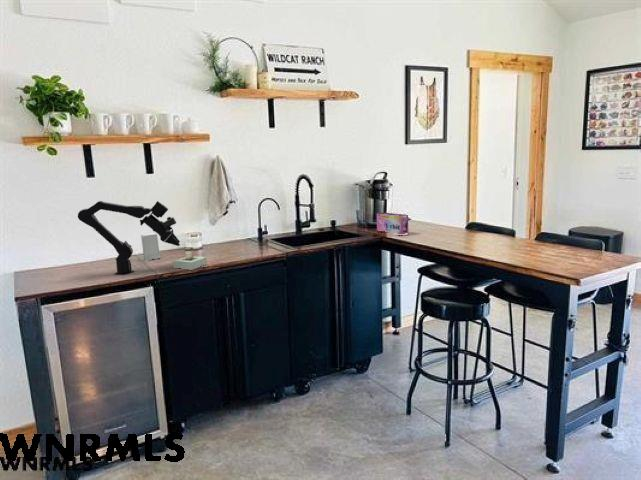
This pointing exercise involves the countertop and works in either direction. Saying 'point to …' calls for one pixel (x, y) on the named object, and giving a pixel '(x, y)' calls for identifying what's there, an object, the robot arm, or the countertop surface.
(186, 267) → the socket block
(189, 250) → the peg
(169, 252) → the countertop surface
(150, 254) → the skincare box
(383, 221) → the gum box
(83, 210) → the robot arm
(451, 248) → the countertop surface
